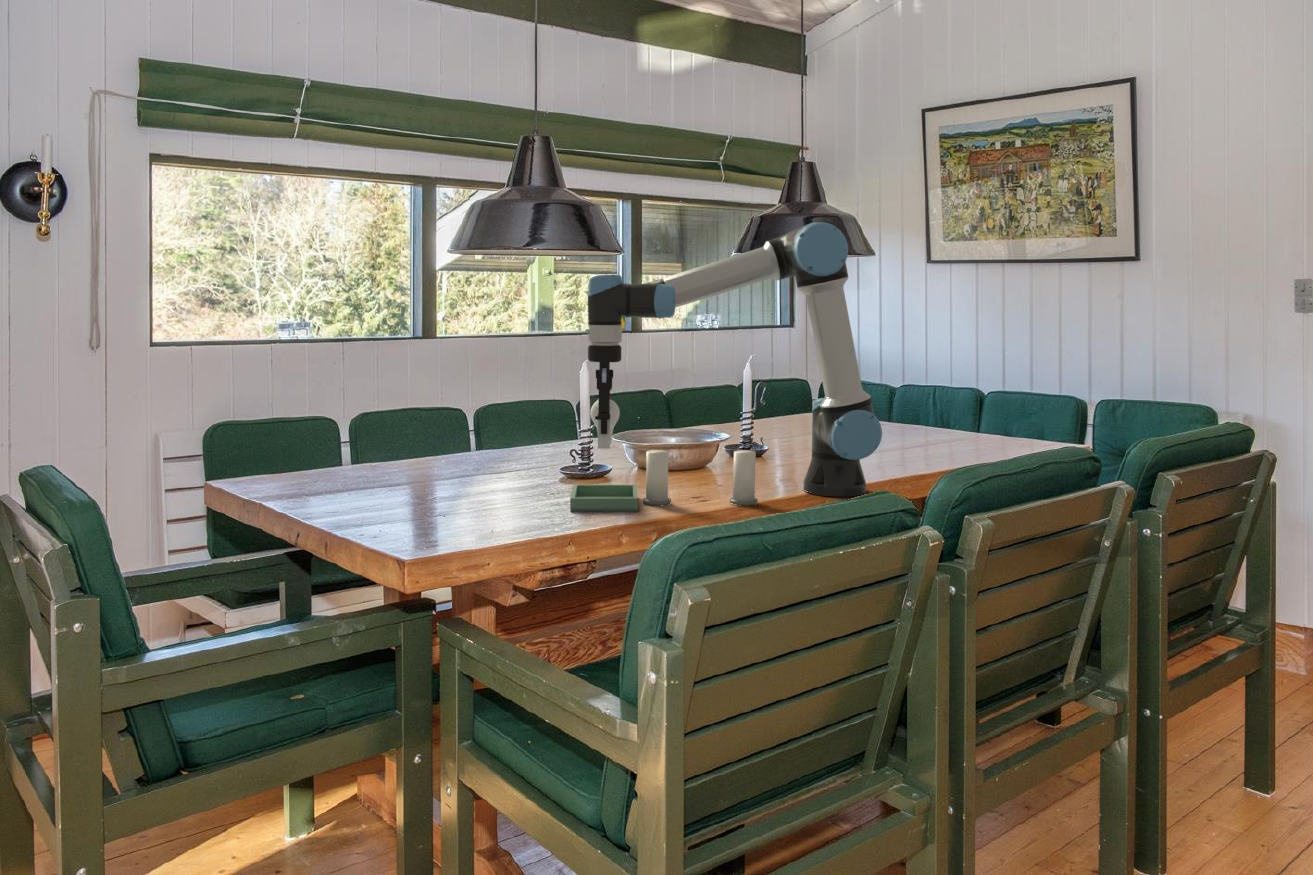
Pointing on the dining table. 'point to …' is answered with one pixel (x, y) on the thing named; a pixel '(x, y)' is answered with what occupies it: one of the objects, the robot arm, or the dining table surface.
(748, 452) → the candle
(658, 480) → the candle
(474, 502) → the dining table surface
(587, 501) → the tray
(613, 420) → the light bulb
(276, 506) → the dining table surface
